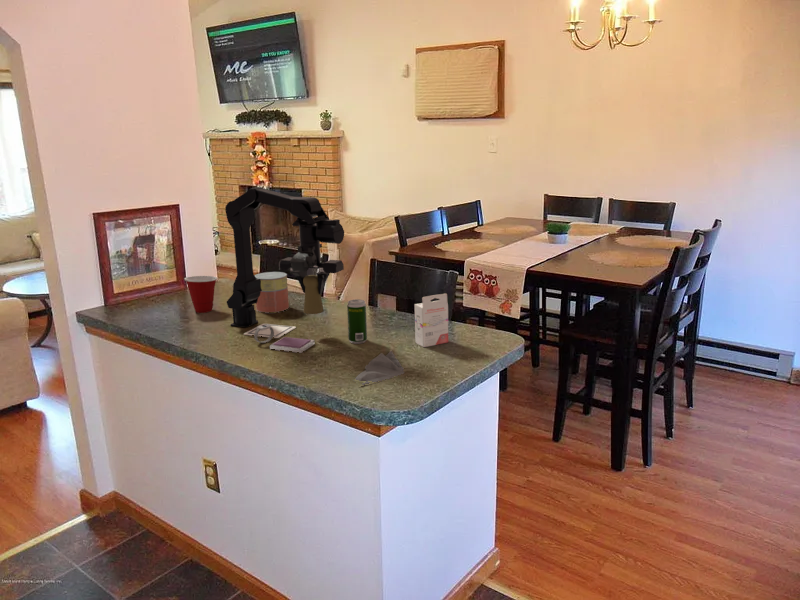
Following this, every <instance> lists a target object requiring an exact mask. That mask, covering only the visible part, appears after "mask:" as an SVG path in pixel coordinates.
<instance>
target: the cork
mask: <svg viewBox="0 0 800 600" xmlns="http://www.w3.org/2000/svg"><path fill="white" fill-rule="evenodd" d="M303 284H304V286H305V293H304V298H303V299H304V300H303V310H302V311H303V313H304V314H307V315H317V314H321V313H324V311H325V310H324V306H323V300H322V294H319V292H318V277H317V275H316V274H307V276H305V277H304V279H303Z"/></svg>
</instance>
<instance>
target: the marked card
mask: <svg viewBox="0 0 800 600" xmlns="http://www.w3.org/2000/svg"><path fill="white" fill-rule="evenodd" d="M265 324H266V325H269V326H271V327H272V329H273V330H274V336H273V337H274V338H273V339H280V338H282V337H284V334H285V335H286V334H288V333H290V332H291V331H293V330H295V329H297V326H293V325H282V324H280V325H279V324H271V323H261V324H259V325H258V326H262V325H265ZM256 329H257V328H256V327H253V328H252V329H250V330H248V331H246V332H244V333H243V335H244V336H252V335H254V334H255V331H256ZM270 334H271V330H270V328H269V329H265V330H260V331H259V332H258V336H257V337H261V336H262V337H263V338H269V337H270Z"/></svg>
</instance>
